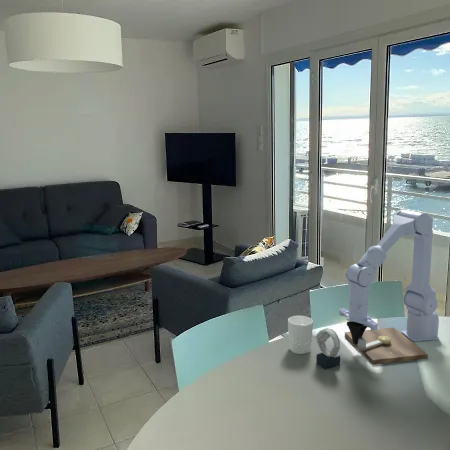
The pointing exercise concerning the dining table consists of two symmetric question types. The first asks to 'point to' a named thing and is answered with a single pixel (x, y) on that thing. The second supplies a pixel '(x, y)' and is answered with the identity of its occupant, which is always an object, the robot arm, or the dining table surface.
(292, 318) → the white cup
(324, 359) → the watch
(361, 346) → the lever
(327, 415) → the dining table surface
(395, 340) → the brown wooden board
